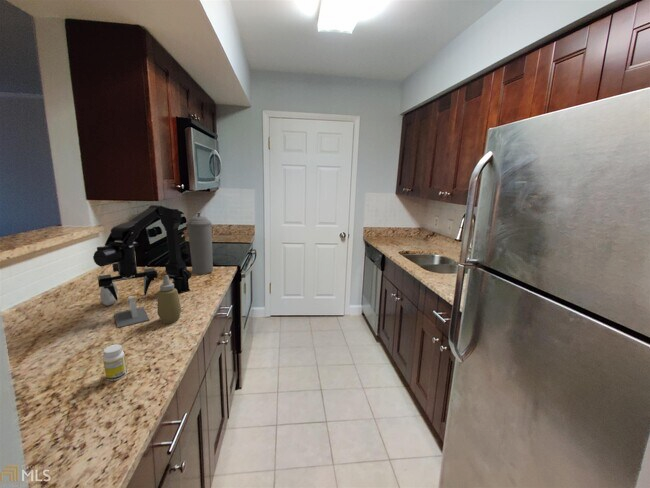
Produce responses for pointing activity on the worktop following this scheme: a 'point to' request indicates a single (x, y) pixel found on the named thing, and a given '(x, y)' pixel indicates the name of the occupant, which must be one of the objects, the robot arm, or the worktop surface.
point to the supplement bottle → (114, 362)
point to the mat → (130, 317)
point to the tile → (132, 306)
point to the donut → (107, 296)
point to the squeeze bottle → (168, 302)
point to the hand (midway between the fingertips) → (131, 297)
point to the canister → (200, 244)
